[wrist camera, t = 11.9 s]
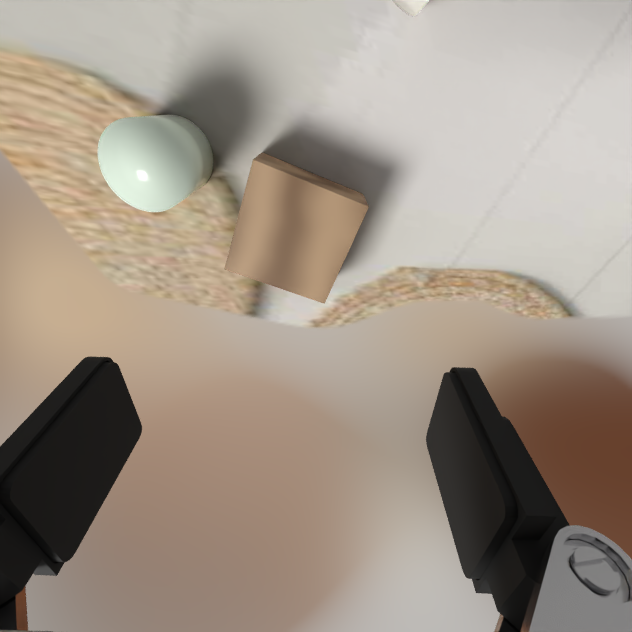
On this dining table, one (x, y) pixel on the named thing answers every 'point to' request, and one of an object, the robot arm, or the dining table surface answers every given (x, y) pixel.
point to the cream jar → (411, 6)
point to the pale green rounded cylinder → (154, 160)
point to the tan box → (294, 228)
